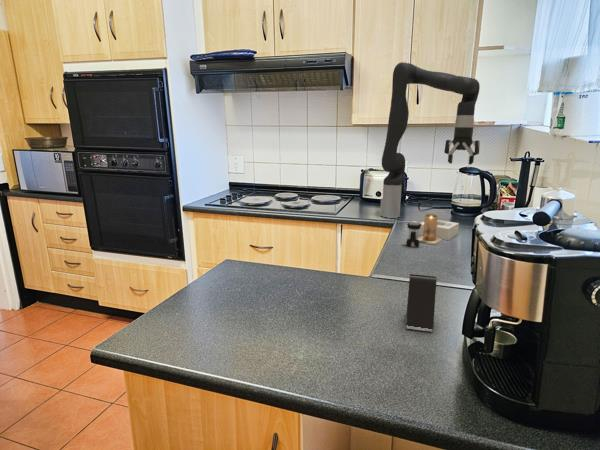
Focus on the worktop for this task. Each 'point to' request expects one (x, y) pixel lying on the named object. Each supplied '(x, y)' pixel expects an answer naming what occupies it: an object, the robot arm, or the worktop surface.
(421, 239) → the pad
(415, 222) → the black stand
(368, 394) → the worktop surface
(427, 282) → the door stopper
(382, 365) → the worktop surface
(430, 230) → the amber cylinder
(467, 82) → the robot arm
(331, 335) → the worktop surface
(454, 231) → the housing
